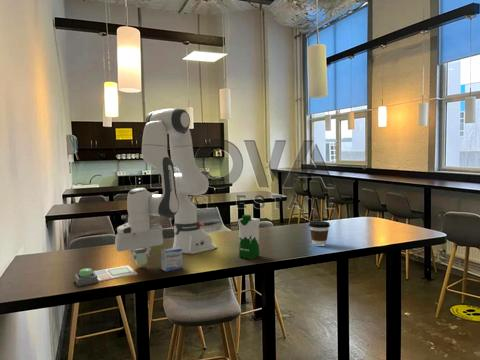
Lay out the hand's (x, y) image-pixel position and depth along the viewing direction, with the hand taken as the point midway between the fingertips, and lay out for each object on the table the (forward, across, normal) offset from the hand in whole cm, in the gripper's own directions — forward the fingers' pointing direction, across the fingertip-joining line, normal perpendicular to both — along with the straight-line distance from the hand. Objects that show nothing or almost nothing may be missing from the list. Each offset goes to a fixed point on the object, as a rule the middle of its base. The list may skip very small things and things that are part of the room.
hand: (140, 257), depth 159 cm
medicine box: (+5, -10, +9) cm, 15 cm away
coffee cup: (+6, -89, +16) cm, 91 cm away
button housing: (+4, +23, +6) cm, 24 cm away
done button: (+2, +23, +5) cm, 24 cm away
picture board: (+4, +12, +2) cm, 12 cm away
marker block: (+2, 0, 0) cm, 2 cm away
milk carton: (+5, -47, +13) cm, 50 cm away
